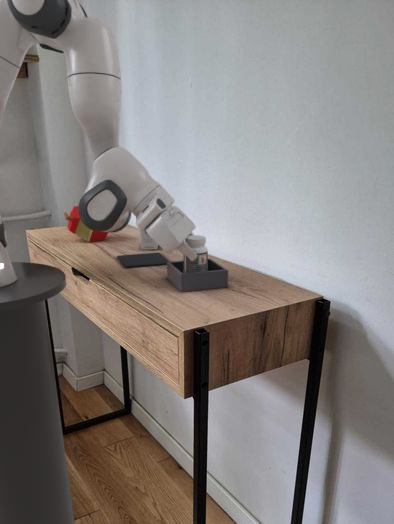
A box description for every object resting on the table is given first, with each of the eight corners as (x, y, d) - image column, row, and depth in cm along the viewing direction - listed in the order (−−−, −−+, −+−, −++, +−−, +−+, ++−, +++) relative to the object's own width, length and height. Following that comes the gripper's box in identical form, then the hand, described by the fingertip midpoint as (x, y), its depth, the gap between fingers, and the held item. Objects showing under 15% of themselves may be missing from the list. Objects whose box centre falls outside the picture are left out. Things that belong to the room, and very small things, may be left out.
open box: (181, 291, 107) (181, 274, 105) (167, 278, 117) (166, 262, 115) (227, 287, 110) (228, 270, 109) (210, 274, 120) (210, 258, 118)
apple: (110, 249, 153) (63, 236, 146) (102, 243, 164) (57, 231, 157) (120, 211, 151) (72, 196, 144) (111, 208, 161) (66, 194, 154)
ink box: (143, 243, 151) (141, 204, 146) (159, 243, 151) (157, 204, 146) (140, 249, 143) (138, 208, 139) (157, 250, 143) (155, 208, 139)
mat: (126, 268, 125) (126, 266, 125) (117, 257, 135) (117, 255, 135) (170, 264, 129) (170, 262, 128) (158, 254, 139) (158, 252, 139)
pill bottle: (212, 280, 113) (213, 237, 109) (194, 284, 109) (195, 240, 105) (195, 274, 117) (196, 233, 113) (177, 279, 113) (177, 236, 109)
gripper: (157, 211, 118) (196, 253, 121) (133, 226, 100) (179, 275, 103) (175, 193, 116) (214, 236, 119) (154, 205, 98) (201, 256, 100)
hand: (198, 254), depth 111 cm, fingers closed on pill bottle, 6 cm apart
